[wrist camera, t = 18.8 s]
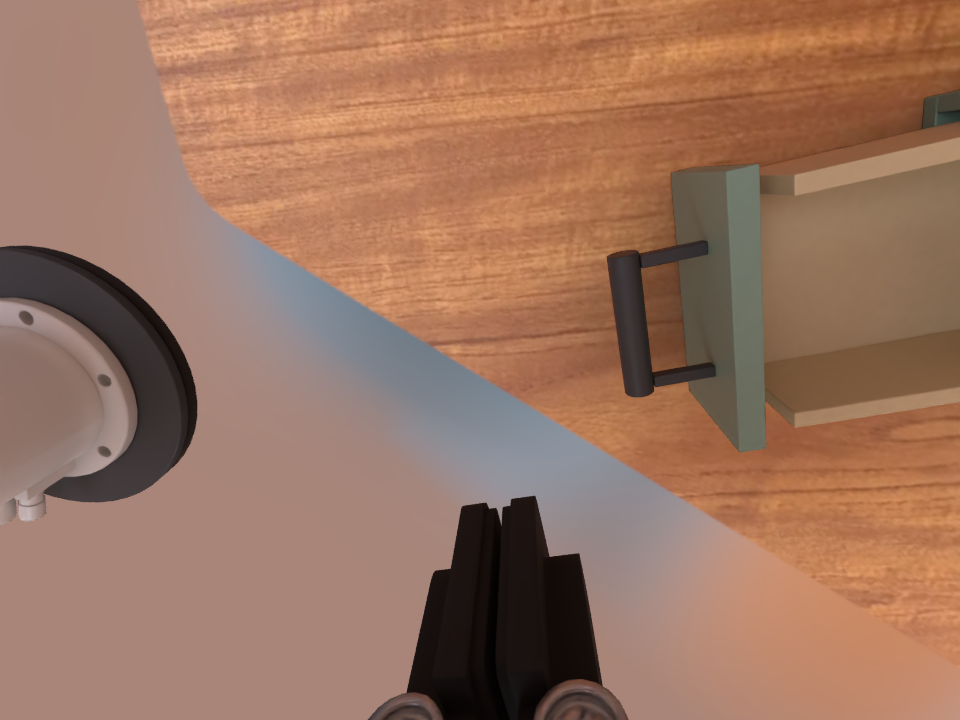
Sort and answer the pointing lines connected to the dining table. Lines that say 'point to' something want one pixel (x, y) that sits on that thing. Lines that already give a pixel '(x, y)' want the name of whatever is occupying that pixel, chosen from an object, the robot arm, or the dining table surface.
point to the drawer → (810, 286)
